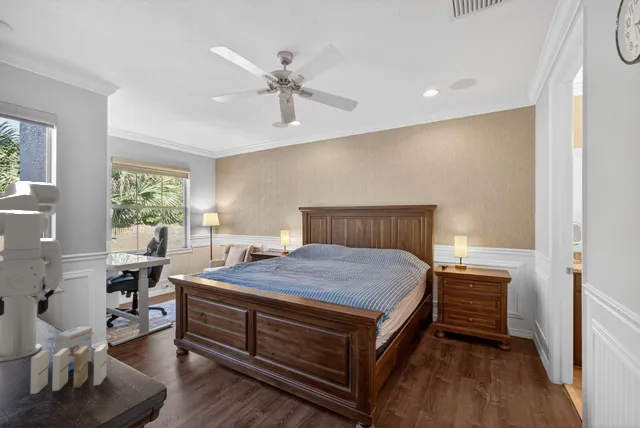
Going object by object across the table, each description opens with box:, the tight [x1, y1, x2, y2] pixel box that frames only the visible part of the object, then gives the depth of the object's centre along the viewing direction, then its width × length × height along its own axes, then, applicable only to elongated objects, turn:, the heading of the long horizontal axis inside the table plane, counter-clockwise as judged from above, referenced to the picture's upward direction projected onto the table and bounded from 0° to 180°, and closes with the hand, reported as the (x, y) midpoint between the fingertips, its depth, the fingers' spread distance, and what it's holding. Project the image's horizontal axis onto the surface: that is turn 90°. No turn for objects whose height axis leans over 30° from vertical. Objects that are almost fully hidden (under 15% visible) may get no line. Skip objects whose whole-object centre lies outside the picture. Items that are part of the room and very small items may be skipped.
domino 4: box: [93, 343, 108, 386], centre depth 90 cm, size 2×5×10 cm, turn 18°
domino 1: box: [29, 349, 49, 395], centre depth 86 cm, size 2×5×10 cm, turn 18°
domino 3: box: [73, 346, 89, 389], centre depth 89 cm, size 2×5×10 cm, turn 18°
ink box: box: [54, 325, 93, 372], centre depth 99 cm, size 9×5×12 cm, turn 168°
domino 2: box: [51, 348, 69, 392], centre depth 87 cm, size 2×5×10 cm, turn 18°
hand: (20, 314), depth 85 cm, fingers open, 9 cm apart
